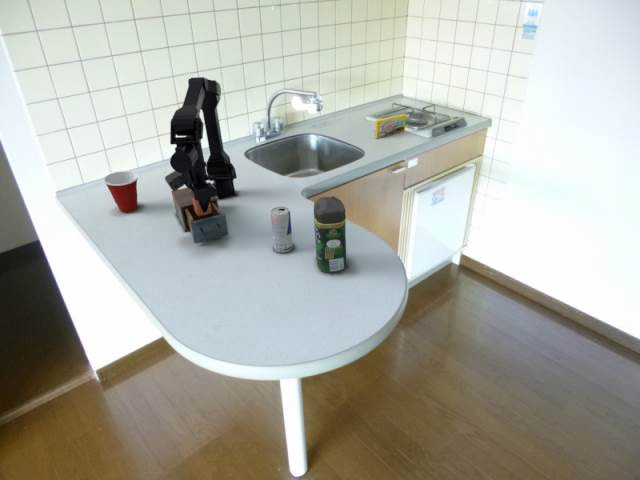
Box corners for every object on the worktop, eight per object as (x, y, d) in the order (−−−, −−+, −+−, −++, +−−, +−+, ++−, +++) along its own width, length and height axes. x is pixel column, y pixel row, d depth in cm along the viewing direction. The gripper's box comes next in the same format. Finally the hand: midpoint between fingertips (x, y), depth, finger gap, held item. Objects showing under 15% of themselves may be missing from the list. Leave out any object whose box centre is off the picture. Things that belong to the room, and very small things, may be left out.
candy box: (376, 139, 209) (377, 121, 205) (374, 138, 211) (374, 120, 207) (405, 132, 216) (406, 114, 212) (402, 131, 218) (403, 113, 213)
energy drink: (295, 244, 135) (292, 207, 128) (288, 254, 130) (285, 216, 124) (278, 242, 136) (275, 205, 130) (271, 251, 132) (267, 214, 126)
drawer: (233, 241, 136) (230, 221, 132) (198, 251, 132) (194, 230, 129) (217, 217, 149) (213, 198, 145) (185, 225, 145) (181, 206, 142)
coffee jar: (314, 255, 129) (311, 195, 120) (342, 252, 130) (341, 192, 120) (318, 275, 121) (315, 212, 111) (348, 272, 122) (348, 209, 112)
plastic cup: (135, 217, 153) (126, 184, 147) (106, 215, 155) (95, 182, 149) (152, 202, 162) (143, 170, 156) (124, 201, 164) (115, 169, 158)
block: (208, 207, 141) (206, 194, 139) (212, 212, 138) (209, 200, 135) (194, 210, 139) (192, 198, 137) (198, 216, 136) (195, 203, 134)
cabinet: (221, 222, 148) (217, 198, 144) (185, 231, 144) (180, 207, 139) (210, 206, 158) (205, 183, 154) (176, 214, 154) (171, 191, 150)
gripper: (157, 154, 134) (169, 202, 142) (170, 176, 120) (182, 229, 128) (196, 147, 138) (204, 194, 146) (213, 167, 124) (221, 219, 132)
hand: (202, 208), depth 138 cm, fingers closed on block, 4 cm apart
